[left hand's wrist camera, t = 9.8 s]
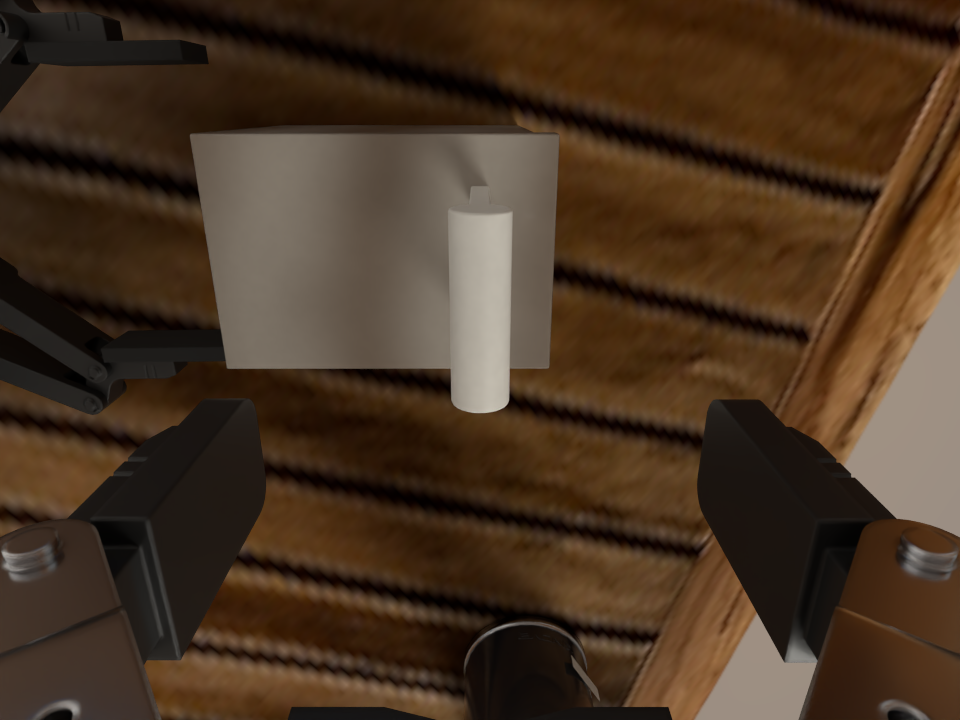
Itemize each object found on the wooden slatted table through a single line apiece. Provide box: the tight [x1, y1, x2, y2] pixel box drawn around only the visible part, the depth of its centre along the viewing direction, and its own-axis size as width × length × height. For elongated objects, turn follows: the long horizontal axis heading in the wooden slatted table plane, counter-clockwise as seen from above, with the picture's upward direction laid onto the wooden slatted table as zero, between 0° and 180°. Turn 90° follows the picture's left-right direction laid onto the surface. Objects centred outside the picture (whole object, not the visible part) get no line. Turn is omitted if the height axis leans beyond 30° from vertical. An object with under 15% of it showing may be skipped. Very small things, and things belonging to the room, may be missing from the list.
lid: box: [190, 133, 559, 413], centre depth 22 cm, size 14×10×9 cm
